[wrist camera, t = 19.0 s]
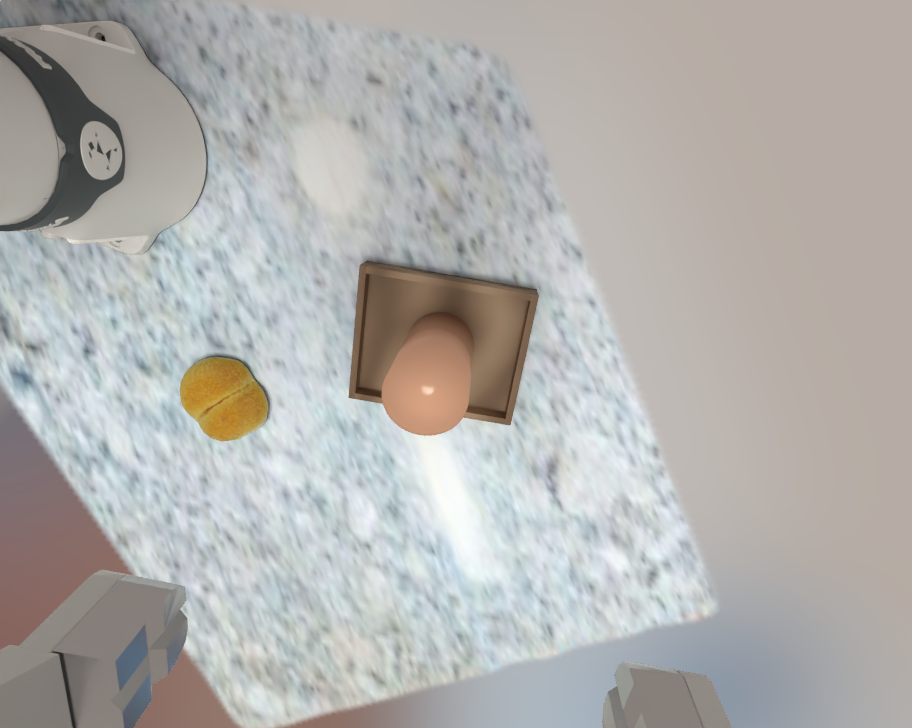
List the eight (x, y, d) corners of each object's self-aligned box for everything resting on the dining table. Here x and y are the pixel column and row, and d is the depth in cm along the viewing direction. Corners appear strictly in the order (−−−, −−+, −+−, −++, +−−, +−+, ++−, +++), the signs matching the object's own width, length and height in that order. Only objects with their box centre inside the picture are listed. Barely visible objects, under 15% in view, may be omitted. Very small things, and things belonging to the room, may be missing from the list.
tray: (355, 387, 51) (348, 397, 48) (366, 261, 46) (359, 265, 44) (509, 413, 50) (510, 425, 48) (536, 289, 46) (538, 295, 44)
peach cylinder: (403, 369, 48) (377, 427, 37) (411, 306, 46) (386, 348, 35) (467, 381, 48) (460, 442, 37) (479, 318, 46) (476, 364, 35)
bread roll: (232, 340, 50) (211, 353, 46) (284, 411, 52) (269, 428, 49) (172, 376, 52) (147, 392, 48) (225, 443, 54) (206, 462, 51)
